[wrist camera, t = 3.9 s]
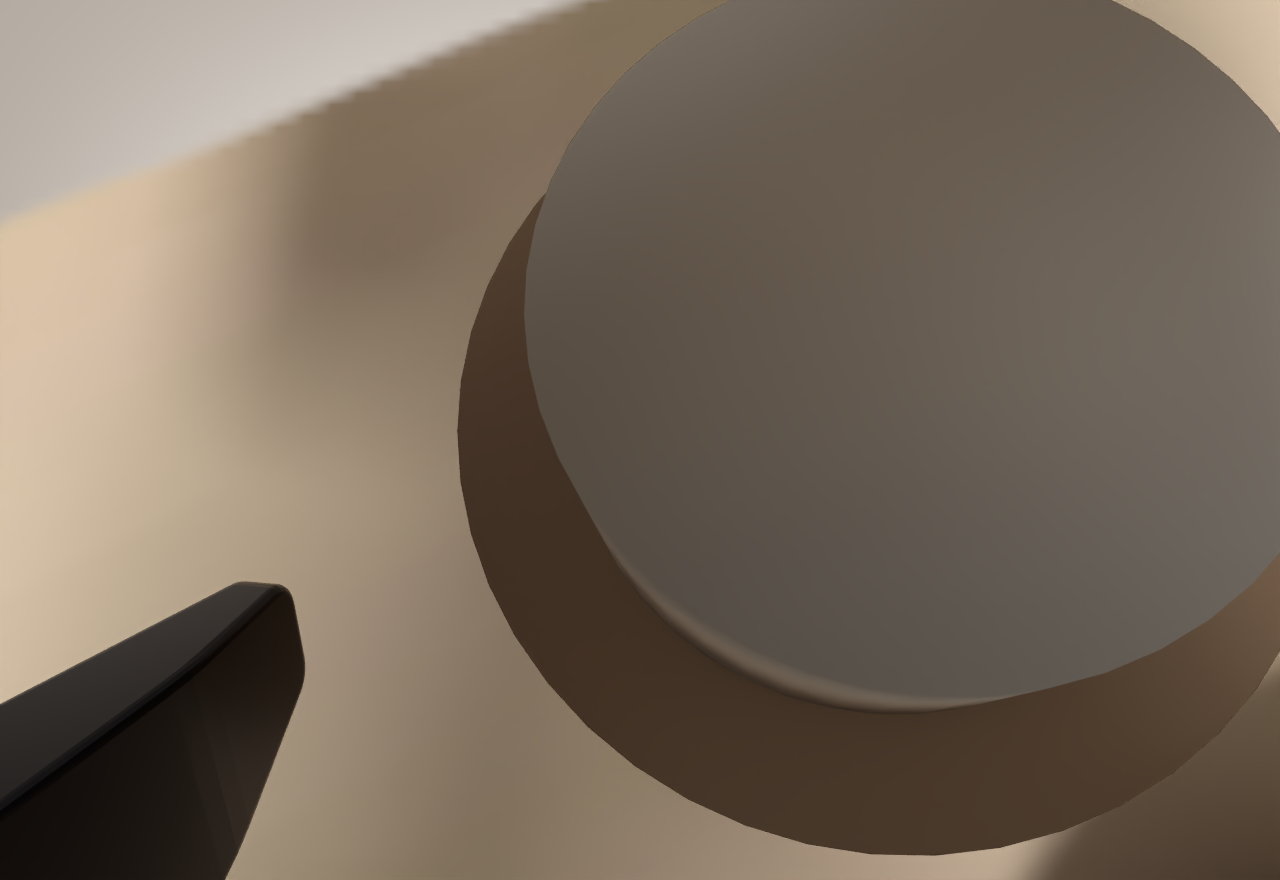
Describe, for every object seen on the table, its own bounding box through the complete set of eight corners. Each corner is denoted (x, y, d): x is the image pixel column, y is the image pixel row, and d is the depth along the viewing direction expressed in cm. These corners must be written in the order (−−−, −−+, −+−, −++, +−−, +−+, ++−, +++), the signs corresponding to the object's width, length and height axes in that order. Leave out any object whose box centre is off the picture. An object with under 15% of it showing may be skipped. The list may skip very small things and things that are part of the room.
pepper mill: (985, 652, 17) (1800, 308, 4) (768, 858, 16) (931, 1220, 3) (782, 444, 18) (915, -294, 6) (574, 625, 18) (172, 257, 5)
